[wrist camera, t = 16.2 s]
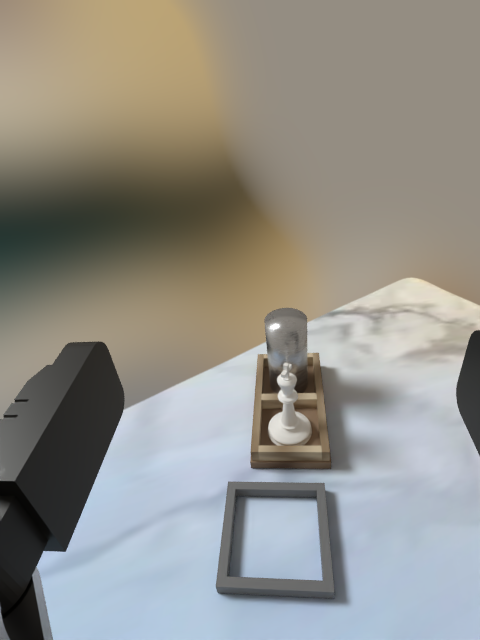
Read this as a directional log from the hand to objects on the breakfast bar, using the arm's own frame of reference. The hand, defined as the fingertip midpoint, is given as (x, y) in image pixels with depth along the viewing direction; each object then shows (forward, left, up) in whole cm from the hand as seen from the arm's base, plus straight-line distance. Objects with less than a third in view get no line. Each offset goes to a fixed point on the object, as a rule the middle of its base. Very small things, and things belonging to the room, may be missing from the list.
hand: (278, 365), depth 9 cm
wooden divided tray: (0, -27, -32) cm, 42 cm away
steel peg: (0, -31, -31) cm, 44 cm away
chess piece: (0, -24, -31) cm, 39 cm away
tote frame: (+2, -12, -32) cm, 34 cm away
